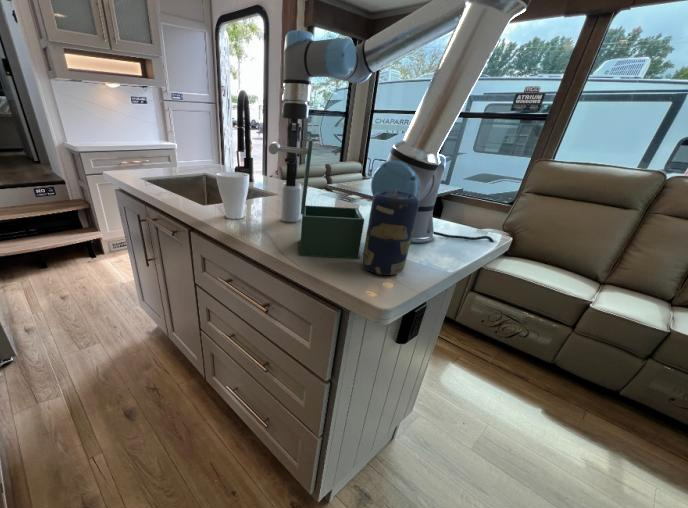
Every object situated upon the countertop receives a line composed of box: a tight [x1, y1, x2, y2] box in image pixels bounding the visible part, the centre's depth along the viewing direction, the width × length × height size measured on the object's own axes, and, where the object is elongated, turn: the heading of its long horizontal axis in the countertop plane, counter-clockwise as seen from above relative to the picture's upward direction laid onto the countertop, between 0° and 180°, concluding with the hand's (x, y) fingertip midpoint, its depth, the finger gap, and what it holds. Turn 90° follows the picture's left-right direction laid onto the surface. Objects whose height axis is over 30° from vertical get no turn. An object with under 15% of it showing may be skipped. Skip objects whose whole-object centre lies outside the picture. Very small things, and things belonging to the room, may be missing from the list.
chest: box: [299, 204, 365, 259], centre depth 81 cm, size 15×11×10 cm
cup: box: [215, 171, 250, 220], centre depth 104 cm, size 10×10×14 cm
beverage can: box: [280, 181, 303, 224], centre depth 103 cm, size 6×6×12 cm
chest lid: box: [268, 137, 314, 215], centre depth 75 cm, size 16×11×10 cm
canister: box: [361, 189, 419, 276], centre depth 69 cm, size 10×10×18 cm
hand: (291, 182), depth 100 cm, fingers open, 13 cm apart
